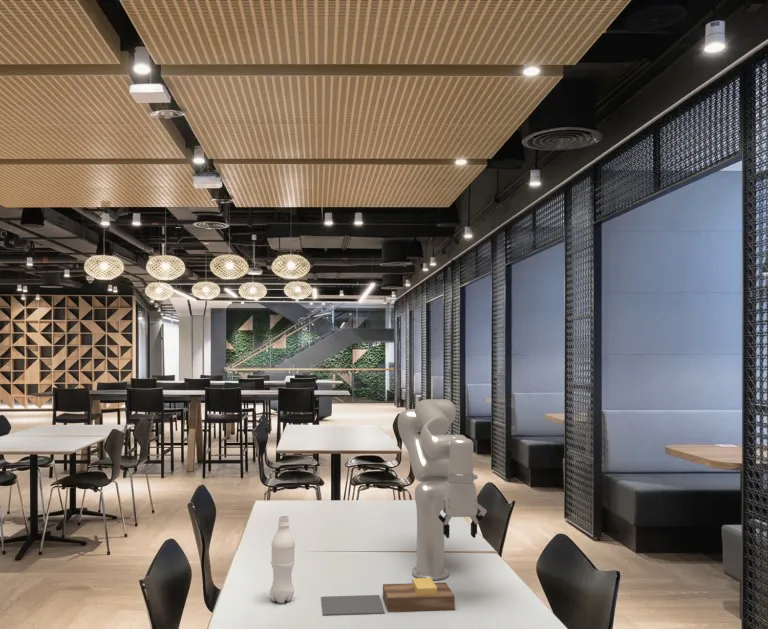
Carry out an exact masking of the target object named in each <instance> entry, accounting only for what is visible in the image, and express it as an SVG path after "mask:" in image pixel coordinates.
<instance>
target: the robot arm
mask: <svg viewBox="0 0 768 629" xmlns="http://www.w3.org/2000/svg"><path fill="white" fill-rule="evenodd" d="M456 410H457V409H456V406H455V404H454V403H453V402H452V400H449V399H447V398H445V399H444V398H441V399H440V398H437V399H436V398H435V399H434V398H432V399H431V398H428V399H422V400H420V401H418V402H417V403H416V405H415V406H414V408H411V409H410V408H409V409H406V410H403V411H401V412H400V413H399V415H398V417H397V428H398V429H397V430H398V434H399V437H400V439H401V441H402V442H403V443H402V444H404V447H405V449H406V450H407V454H408V458H409V461H410V466H411V470H412V473H413V475H414V478H415V480H416V481H418V482H420V483H418V484H417V485H416V487H414V500H415V506H416V507H415V508H416V566H415V567H413V568H412V569H411V574H412V576H413V577H415V578H432V580H433V581H436V580H437V581H440V580H443V579H447V578H448V577H449V570H448V569H447V568H446V567H445V537H446V539H449V538H450V526H451V525H450V524H449V522H450V521H451V519H452V518H465V517H466V518H470V520H471V523H470V536H471V537H472V538H473V539H474V538H475V539H476V535H478V524H479V523H480V522H481V520H483V518H484V517H485V515H486V514H487V511H488V510H487V509H486V508H484V507H483V506H482V505H481V504H479V503H478V496H477V488H476V483H475V482H474V481H475V480H478V478H479V477H478V474H474V442H473V441H472V439H470V438H467V437H466V436H465V435H464V434H446V433H447V432H448V431H449V428H450V425H451V424H452V423H453V422H454V421H455V419H456V415H457V411H456ZM478 510H479V511H480V512H479V513H478ZM442 511H443V513H444V514H445V515H444V516H443V515H442V514H441V512H442Z"/></svg>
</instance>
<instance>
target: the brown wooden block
mask: <svg viewBox="0 0 768 629" xmlns="http://www.w3.org/2000/svg"><path fill="white" fill-rule="evenodd" d="M434 583H435V585H436V587H437V595H419V596H417V594H416V592H415V590H414V588H413V586H412V582H411V583H410V582H409V583H383V584H382V600H383V602H384V605H385V609H386V612H387V613H406V612H407V613H409V612H411V613H412V612H434V611H435V612H436V611H442V612H443V611H455V606H456V602H455V600H456V598H455V597H456V596H455V595H454V593H453V591H452V589H451V588H450V587H449V584H448V583H447V582H434Z"/></svg>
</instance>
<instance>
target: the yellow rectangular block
mask: <svg viewBox="0 0 768 629" xmlns="http://www.w3.org/2000/svg"><path fill="white" fill-rule="evenodd" d="M411 580H412V581H411V583H412V586H413V588H414V590H415V592H416V594H417V596H419V595H437V587H436V585H435V583H436V582H434V580H432V578H417V577H415V578H414V577H413V578H412V579H411Z"/></svg>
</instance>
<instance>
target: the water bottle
mask: <svg viewBox="0 0 768 629" xmlns="http://www.w3.org/2000/svg"><path fill="white" fill-rule="evenodd" d="M277 526H278V528H277V531H276V533H275V534H274V535H273V539H272V541H271V561H270V565H271V568H272V573H273V577H272V578H273V580H272V585H271V588H270V590H269V592H270V593H269V594H270V598H271V601H272V602H277V603H278V604H284V603H285V601H286V602H288V603H289V602H291V601H292V599H293V597H294V592H295V589H294V585H293V582H292V581H293V580H292V574H293V573H292V571H293V569H294V566H295V547H296V542H295V538H294V536H293V535H292V534H293V533H291V530H290V517H289V515H280V516H279V517H278V524H277Z"/></svg>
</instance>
